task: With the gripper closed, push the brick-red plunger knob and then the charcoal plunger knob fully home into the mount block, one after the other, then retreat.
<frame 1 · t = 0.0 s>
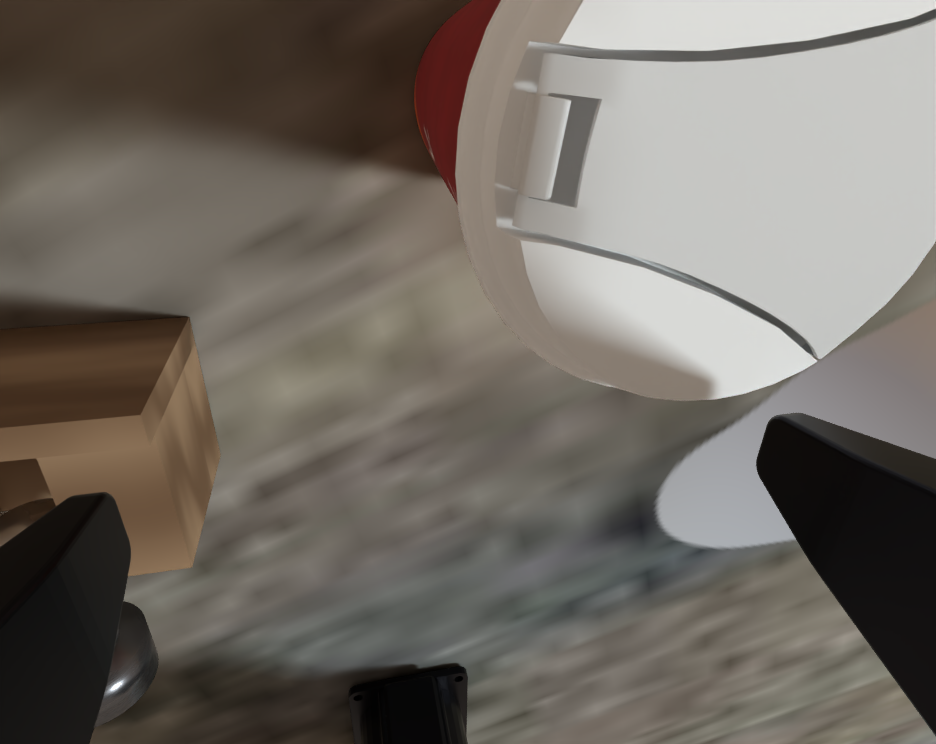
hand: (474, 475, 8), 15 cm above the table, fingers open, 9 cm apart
paper cup: (497, 98, 20), on the table
charcoal knob: (69, 607, 21), point 4 cm above the table, slide at 0.0 cm
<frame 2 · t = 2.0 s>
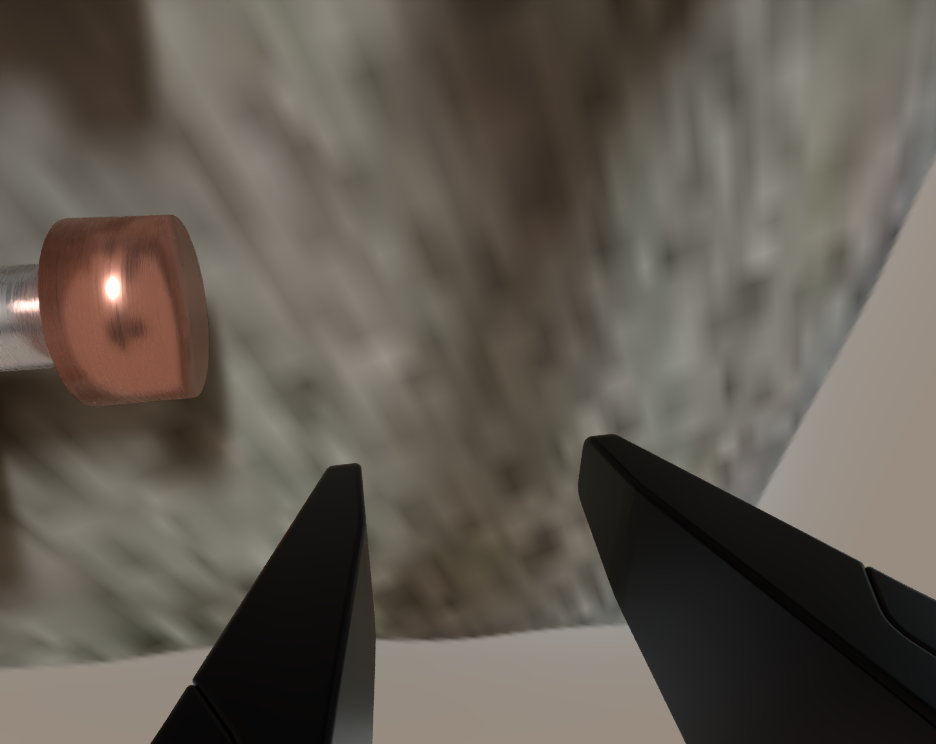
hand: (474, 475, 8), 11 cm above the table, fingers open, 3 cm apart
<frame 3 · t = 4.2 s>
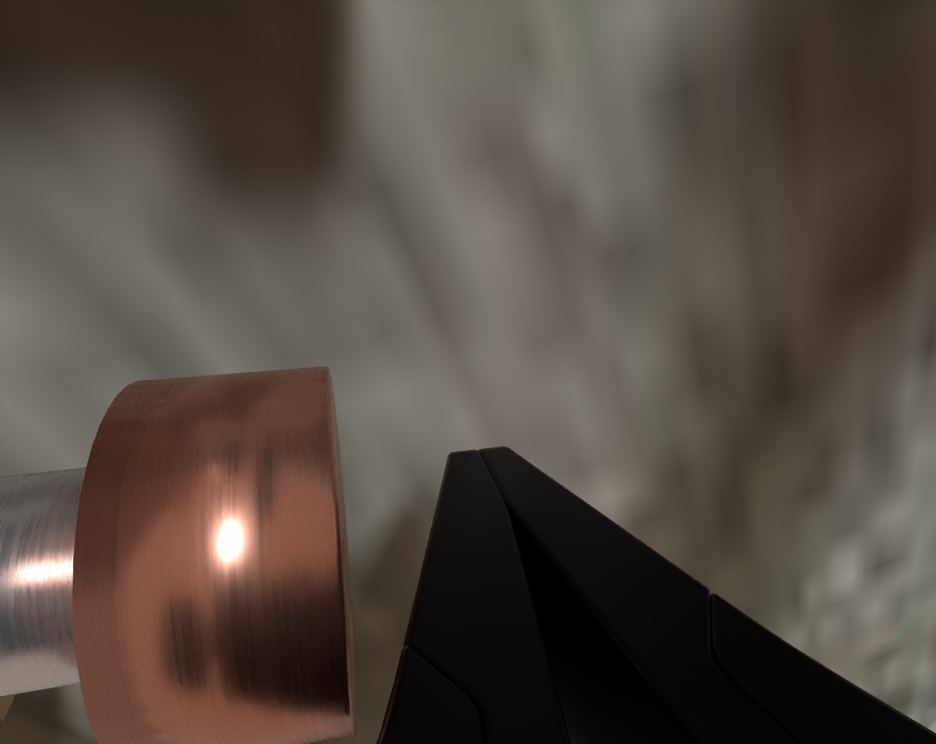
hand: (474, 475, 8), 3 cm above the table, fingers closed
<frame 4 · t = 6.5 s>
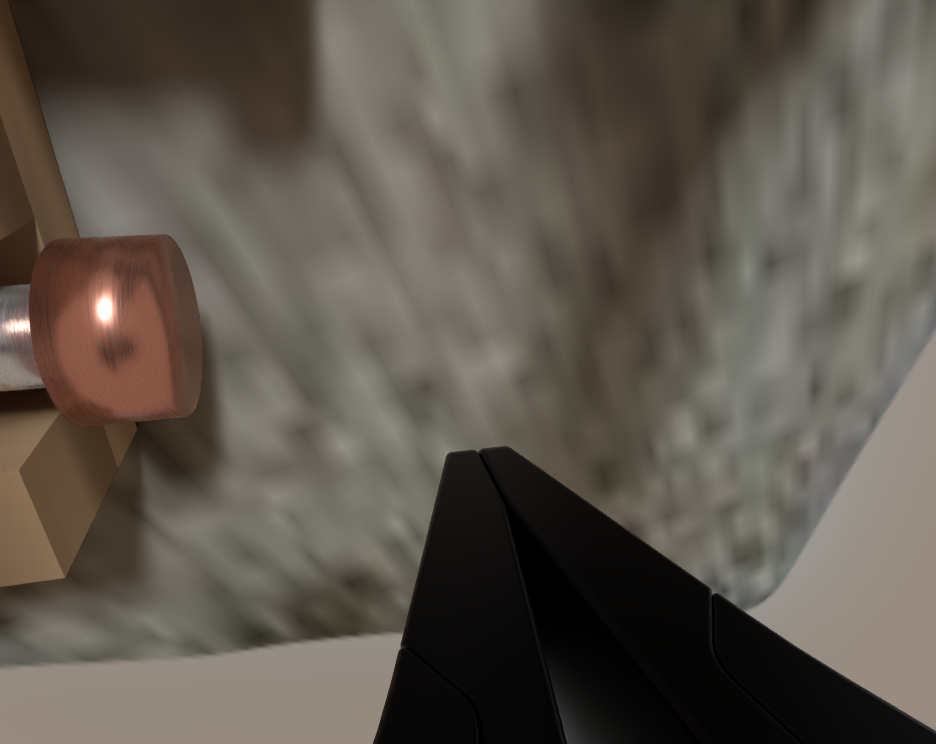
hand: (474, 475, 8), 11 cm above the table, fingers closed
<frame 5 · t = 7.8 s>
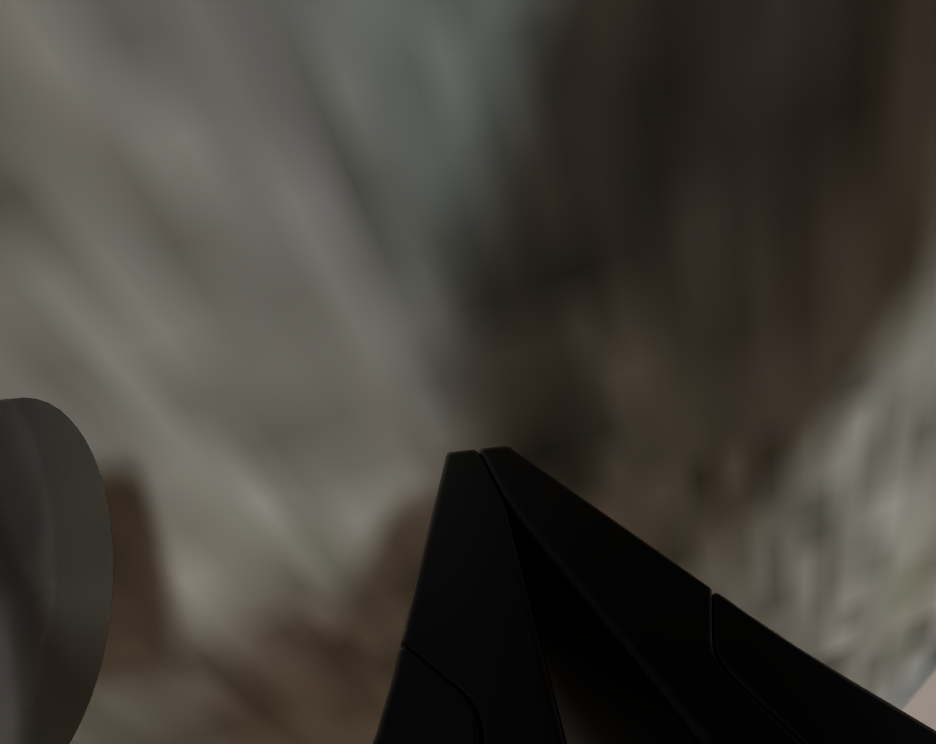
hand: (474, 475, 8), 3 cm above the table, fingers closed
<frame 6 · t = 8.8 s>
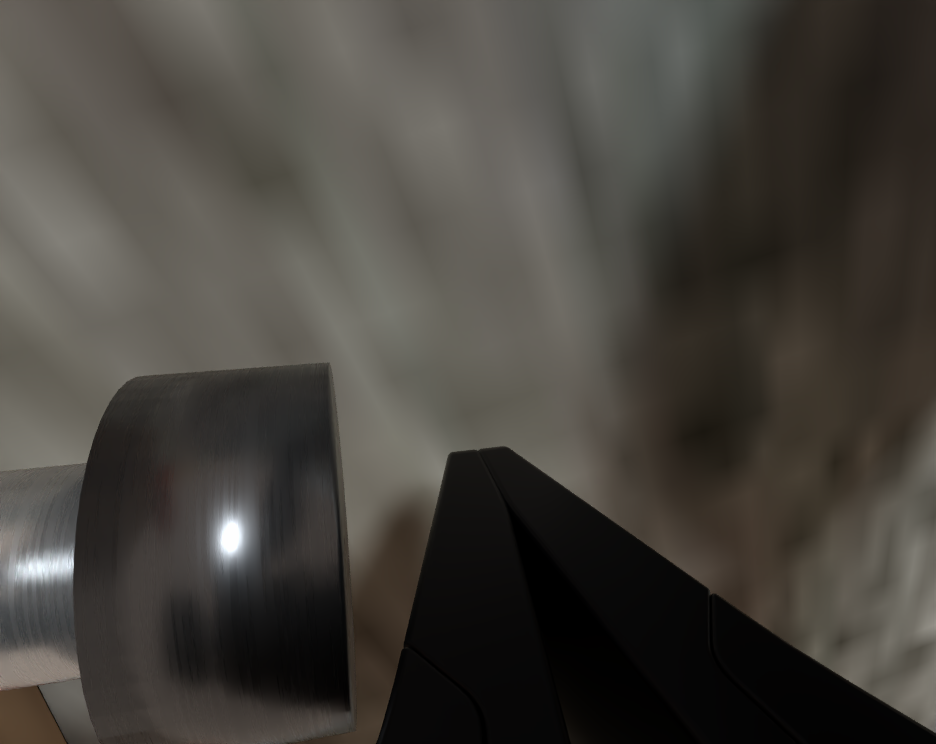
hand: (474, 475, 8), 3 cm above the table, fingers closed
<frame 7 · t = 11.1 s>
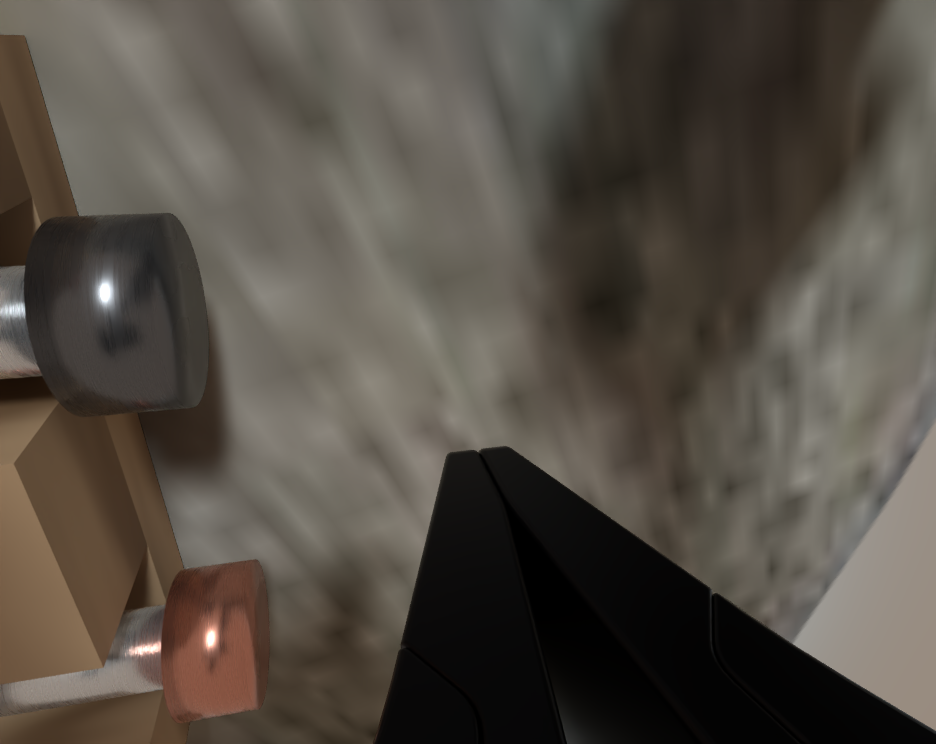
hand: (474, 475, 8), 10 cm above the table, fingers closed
brick knob: (107, 655, 16), point 4 cm above the table, slide at 4.0 cm, touching mount
mount: (27, 432, 17), on the table
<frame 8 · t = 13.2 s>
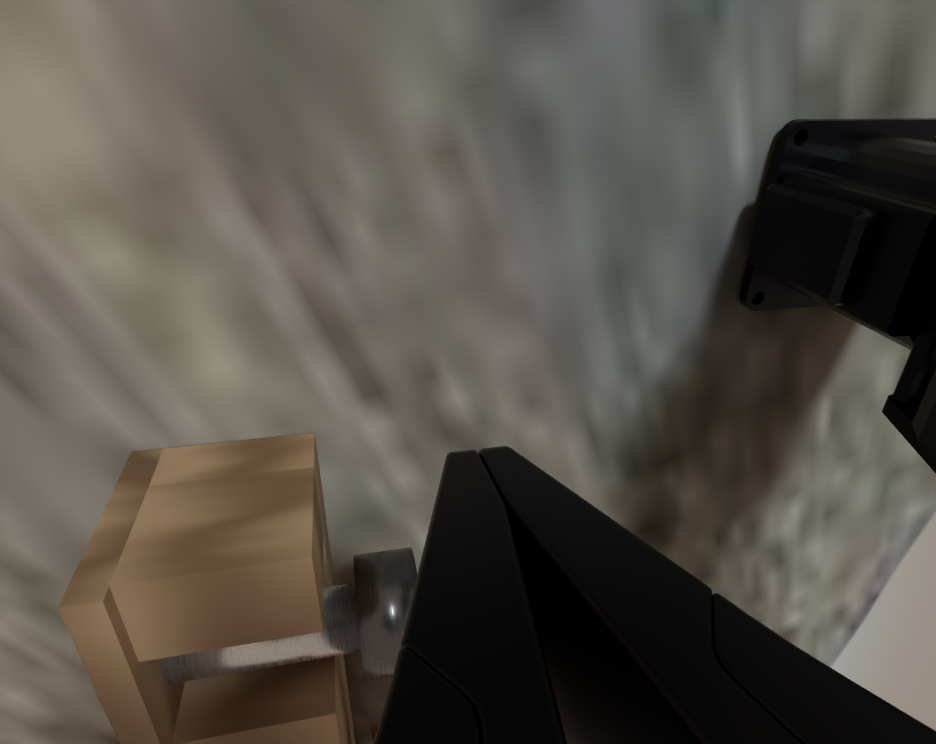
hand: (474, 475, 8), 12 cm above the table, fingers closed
mount: (268, 634, 25), on the table
charcoal knob: (298, 626, 20), point 4 cm above the table, slide at 4.0 cm, touching mount
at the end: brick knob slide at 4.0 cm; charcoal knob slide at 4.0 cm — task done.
